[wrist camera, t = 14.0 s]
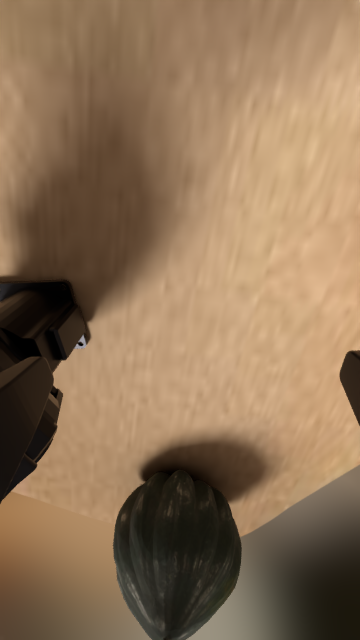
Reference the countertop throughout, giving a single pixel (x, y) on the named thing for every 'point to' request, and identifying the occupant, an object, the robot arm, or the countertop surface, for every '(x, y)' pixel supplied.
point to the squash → (175, 554)
